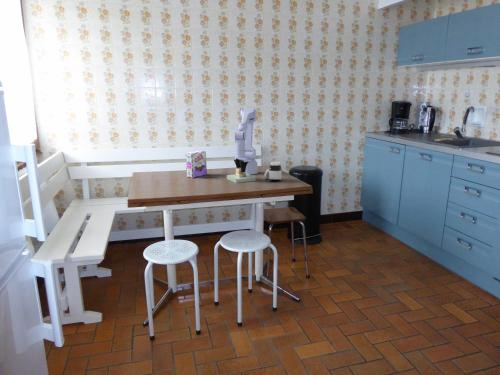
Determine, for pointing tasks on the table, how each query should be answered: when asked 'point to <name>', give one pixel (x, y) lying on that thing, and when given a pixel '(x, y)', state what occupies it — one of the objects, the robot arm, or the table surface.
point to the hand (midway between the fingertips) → (241, 171)
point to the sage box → (241, 178)
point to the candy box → (196, 164)
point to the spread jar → (274, 172)
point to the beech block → (240, 173)
